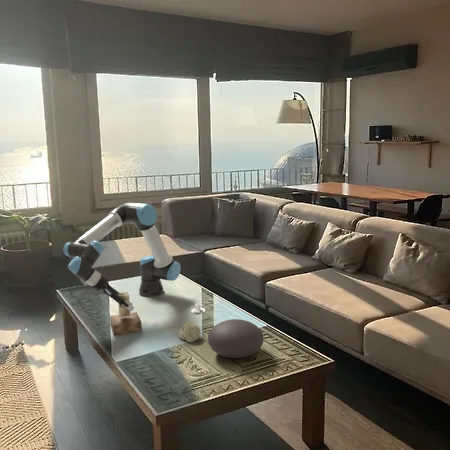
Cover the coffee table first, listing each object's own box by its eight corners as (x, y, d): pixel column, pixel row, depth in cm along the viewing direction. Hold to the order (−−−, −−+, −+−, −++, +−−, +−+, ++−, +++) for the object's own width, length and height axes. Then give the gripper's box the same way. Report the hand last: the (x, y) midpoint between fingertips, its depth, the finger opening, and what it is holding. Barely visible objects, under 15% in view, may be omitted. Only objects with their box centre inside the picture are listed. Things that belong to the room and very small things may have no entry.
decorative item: (208, 329, 239) (194, 327, 232) (202, 346, 239) (187, 344, 232) (193, 320, 248) (178, 317, 240) (186, 336, 247) (171, 334, 240)
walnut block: (137, 321, 263) (136, 312, 262) (141, 330, 250) (141, 321, 249) (110, 324, 258) (109, 315, 257) (113, 335, 245) (113, 325, 244)
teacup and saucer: (198, 315, 269) (197, 308, 269) (187, 312, 274) (186, 305, 273) (208, 310, 276) (208, 303, 275) (197, 307, 281) (197, 300, 280)
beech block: (128, 312, 256) (127, 292, 253) (130, 315, 251) (129, 295, 249) (119, 313, 254) (117, 293, 252) (120, 317, 249) (119, 296, 247)
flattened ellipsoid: (246, 372, 205) (246, 338, 202) (197, 358, 218) (196, 326, 215) (273, 349, 226) (273, 318, 223) (226, 338, 239) (226, 308, 236)
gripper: (89, 281, 253) (124, 307, 261) (92, 291, 236) (129, 319, 244) (99, 270, 253) (133, 296, 262) (103, 279, 237) (139, 307, 245)
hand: (131, 307), depth 253 cm, fingers closed on beech block, 5 cm apart
